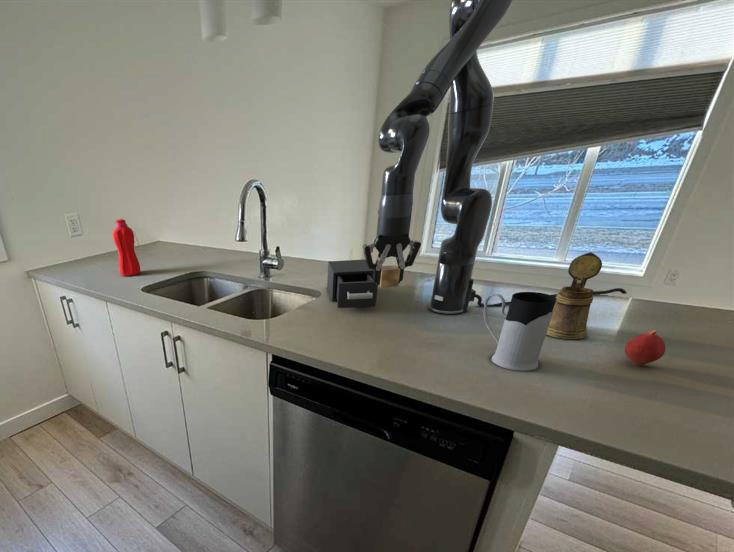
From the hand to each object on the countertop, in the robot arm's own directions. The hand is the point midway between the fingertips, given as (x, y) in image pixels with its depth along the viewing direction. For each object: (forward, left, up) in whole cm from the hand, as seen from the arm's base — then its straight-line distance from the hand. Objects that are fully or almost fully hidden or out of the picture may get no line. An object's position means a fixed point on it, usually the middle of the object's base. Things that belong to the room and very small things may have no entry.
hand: (387, 283), depth 105 cm
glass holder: (-23, +18, -13) cm, 32 cm away
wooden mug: (-44, +3, -13) cm, 46 cm away
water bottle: (+99, -81, -13) cm, 129 cm away
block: (0, 0, 0) cm, 0 cm away
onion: (-47, +23, -13) cm, 54 cm away
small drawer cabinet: (+4, -35, -13) cm, 37 cm away
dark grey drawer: (+4, -22, -12) cm, 26 cm away
